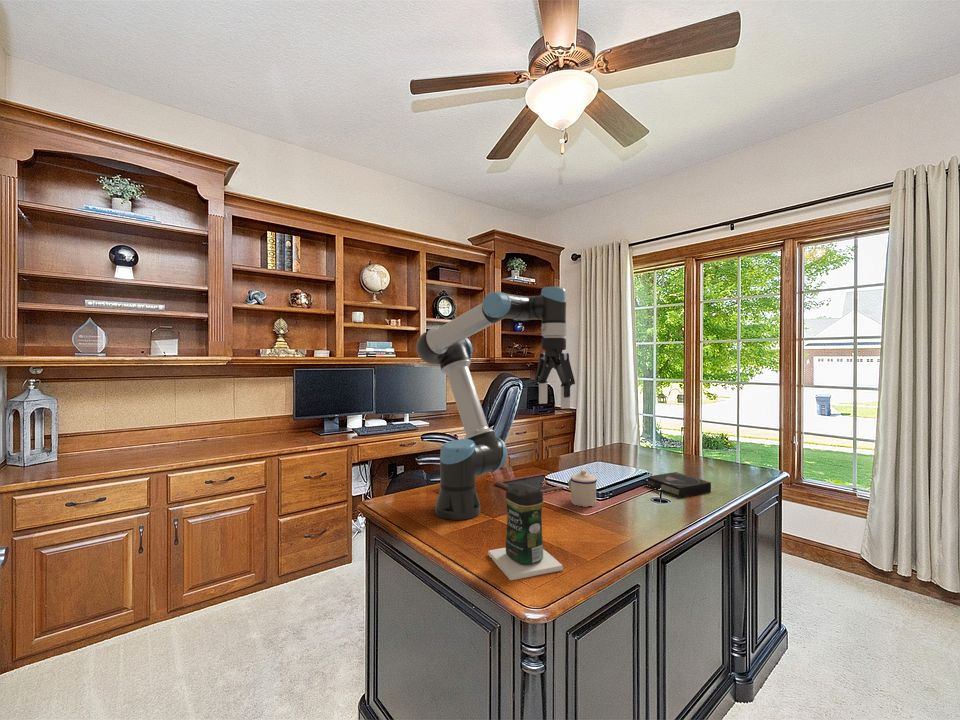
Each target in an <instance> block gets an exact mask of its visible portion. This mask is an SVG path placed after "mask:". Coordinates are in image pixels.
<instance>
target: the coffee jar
mask: <svg viewBox="0 0 960 720" xmlns="http://www.w3.org/2000/svg"><path fill="white" fill-rule="evenodd" d="M505 491H506V492H505V503H506V512H507V514H506V516H507V517H506V535H505V536H506V538H505V548H506V554H507V555H508V556H509V557H510V558H511V559H513V560H514V561H516V562H518V563H520V564H522V565H527V564H531V565H532V564H536V563H538V562H539V561H541V560H542V559H543V549H544V544H543V543H544V542H543V523H542V520H543V519H542V518H543V516H542V515H543V514H542V513H543V505H544V495H543V493H542V491H541V490H539V489H537V488H535V487H532V486H530V485H527V484H524V483H523V482H517V483H512V484H509V486H508V487H507V490H506V489H505Z"/></svg>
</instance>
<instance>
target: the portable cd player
mask: <svg viewBox="0 0 960 720" xmlns="http://www.w3.org/2000/svg"><path fill="white" fill-rule="evenodd" d="M649 476H650V477H648V481H647V482H646V485H648V486H650V487H649V488H651V487H653V488H652V489H654V488H656V489H655V490H657V489H660V488H661V487H662V491H663V492H662V491H661V492H662V493H665V494H668V495H671V496H673V497H676V498H678V499H679V498H686V497H691V496H696V495H700V494H706V492H707V493H711V492H712V481H711V482H710V481H706V480H704V479H701V478H696V477H694V476H691V475H687V474H683V473H681V472H677V471H676V472H675V471H673V472H668V473H661V474H654V475H649ZM646 485H645V486H646ZM648 486H647V487H648Z"/></svg>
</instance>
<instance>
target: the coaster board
mask: <svg viewBox="0 0 960 720" xmlns="http://www.w3.org/2000/svg"><path fill="white" fill-rule="evenodd" d="M487 555H488V556H489V558H490V559H491V558H492V559H491V561H493V562H494V563H495V565H497V567H498V568H499V570H501V571H502V572H503V573H502V574H504V575H505V576H506V577H507V578H508V580H509V581H515V580H520V579H526V578H530V577H531V578H532V577H535V576H541V575H544V574H550V573H555V572H561V571H563V569H564V567H563V564H562V563H560V561H558V560H557V559H556V558H555V557H554V556H553V555H551V554H550V553H549V552H548V551H546V549H544V548H543V559H542V560H541V561H539V562H538V563H536V564H532V565H531V564H527V565H522V564H520V563H518V562H516V561H514V560H513V559H511V558H510V557H509V556H508V555H507V554H506V547H501V548H495V549H490V550H489V549H488V554H487Z"/></svg>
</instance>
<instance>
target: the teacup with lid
mask: <svg viewBox="0 0 960 720" xmlns="http://www.w3.org/2000/svg"><path fill="white" fill-rule="evenodd" d="M597 481H598V480H597V477H596V476H594V475H591V474H590V473H589V472H588V471H587V470H586V469H581V470H580V472H578V473H576V474H573V475H571V477H570V479H569V480H568V481H567V482H568V485H569V489H568V490H570V497H571V498H570V499H571V500H570V502H571V504H572V503H573V504H572V505H574V506H576V505H577V506H576V507H580V506H583V507H582V508H589V507H588V506H592V507H595V506H596V505H597ZM595 504H596V505H595Z"/></svg>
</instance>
